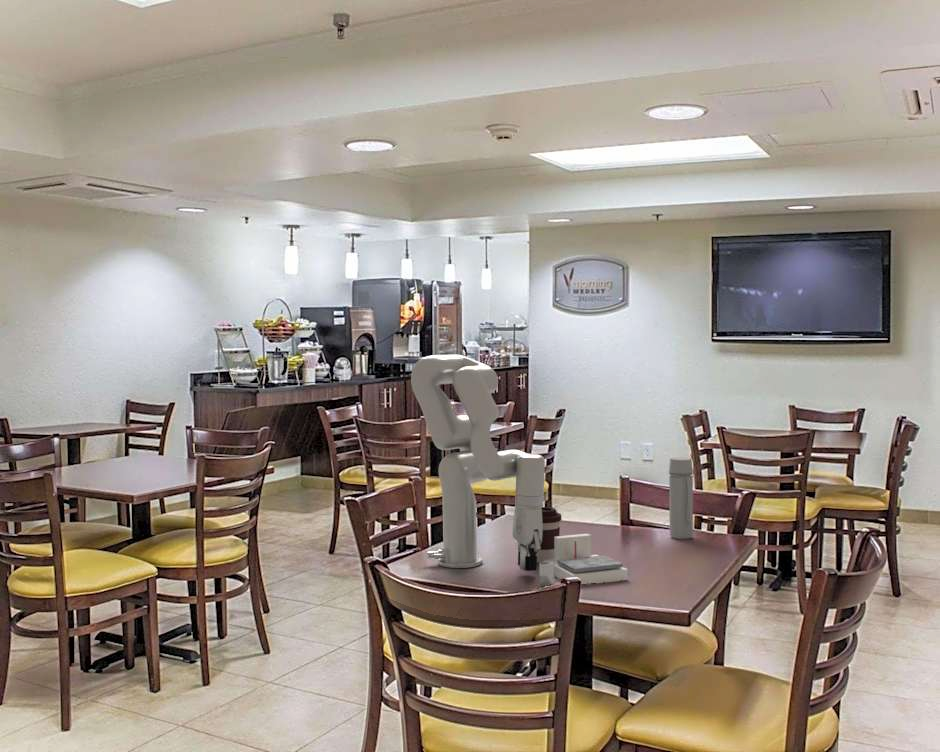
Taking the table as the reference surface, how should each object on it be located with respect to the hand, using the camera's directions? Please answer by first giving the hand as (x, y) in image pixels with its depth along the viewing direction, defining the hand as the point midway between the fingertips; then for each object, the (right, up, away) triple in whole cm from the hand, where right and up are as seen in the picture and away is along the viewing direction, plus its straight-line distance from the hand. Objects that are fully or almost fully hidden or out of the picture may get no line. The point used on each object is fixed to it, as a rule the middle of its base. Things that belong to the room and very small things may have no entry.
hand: (527, 567), depth 244 cm
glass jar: (0, 0, 0) cm, 0 cm away
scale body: (+16, -2, 0) cm, 16 cm away
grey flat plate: (+16, +1, -2) cm, 17 cm away
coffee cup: (+6, -2, +16) cm, 17 cm away
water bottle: (+52, 0, +42) cm, 67 cm away
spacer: (+4, -3, -10) cm, 11 cm away
